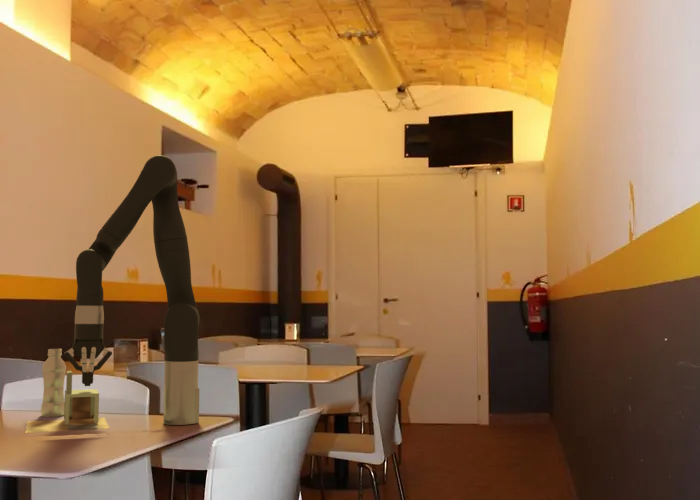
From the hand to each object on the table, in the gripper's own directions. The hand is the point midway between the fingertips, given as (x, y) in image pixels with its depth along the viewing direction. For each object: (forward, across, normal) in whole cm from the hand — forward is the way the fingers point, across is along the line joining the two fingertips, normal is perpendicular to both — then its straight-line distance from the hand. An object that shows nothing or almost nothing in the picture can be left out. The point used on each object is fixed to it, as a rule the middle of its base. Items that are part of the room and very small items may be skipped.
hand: (87, 385), depth 205 cm
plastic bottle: (+11, +8, -16) cm, 21 cm away
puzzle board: (+11, +5, +4) cm, 12 cm away
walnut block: (+10, +1, 0) cm, 10 cm away
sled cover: (+9, +1, 0) cm, 10 cm away
